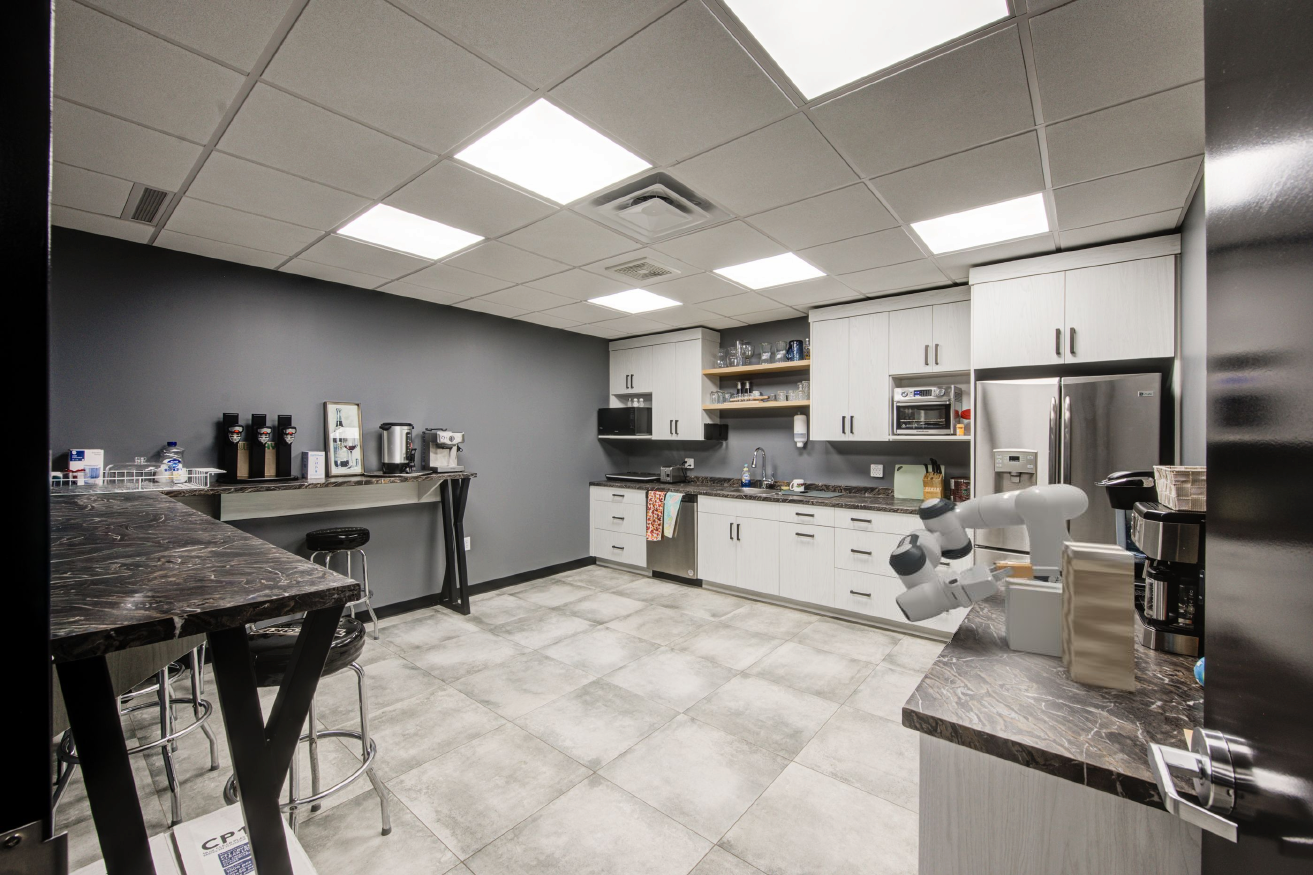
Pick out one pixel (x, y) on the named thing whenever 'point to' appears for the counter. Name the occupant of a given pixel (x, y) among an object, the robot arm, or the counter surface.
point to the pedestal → (1033, 616)
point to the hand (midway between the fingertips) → (1010, 567)
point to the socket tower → (1098, 614)
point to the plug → (1028, 570)
